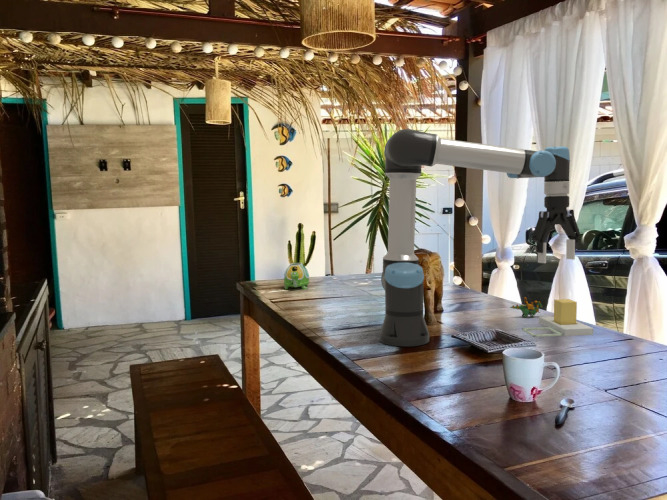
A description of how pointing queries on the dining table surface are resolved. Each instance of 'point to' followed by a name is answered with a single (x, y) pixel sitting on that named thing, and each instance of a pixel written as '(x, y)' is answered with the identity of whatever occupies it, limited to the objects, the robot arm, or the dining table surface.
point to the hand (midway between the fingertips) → (556, 261)
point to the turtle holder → (296, 276)
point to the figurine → (528, 308)
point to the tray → (542, 334)
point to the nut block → (565, 311)
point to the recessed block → (566, 327)
